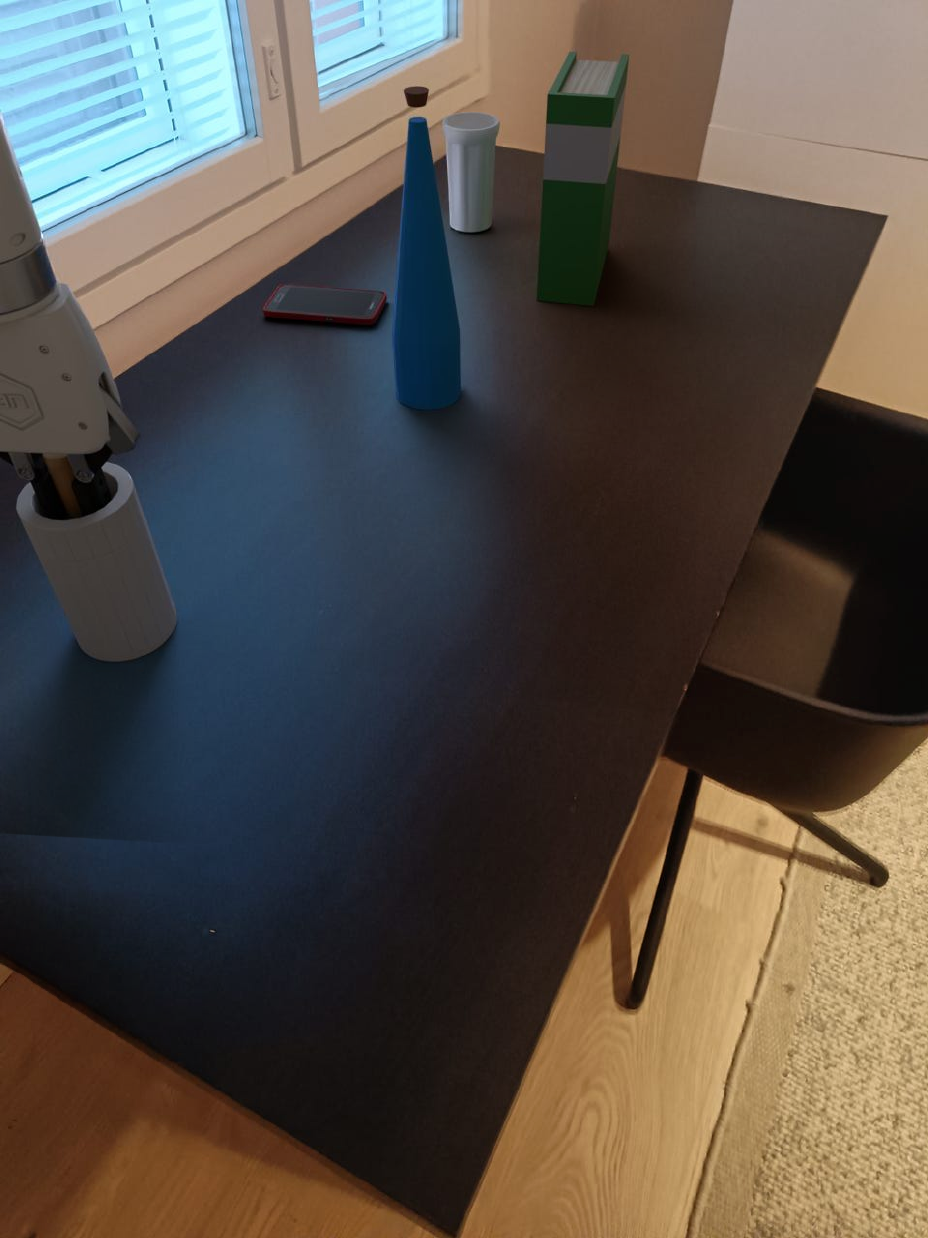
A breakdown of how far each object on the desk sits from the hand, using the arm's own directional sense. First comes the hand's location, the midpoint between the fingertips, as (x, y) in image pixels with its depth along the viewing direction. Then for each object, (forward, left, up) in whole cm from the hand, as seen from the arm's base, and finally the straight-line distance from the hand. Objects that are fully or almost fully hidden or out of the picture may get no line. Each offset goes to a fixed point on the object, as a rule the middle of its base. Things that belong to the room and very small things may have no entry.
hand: (80, 512), depth 67 cm
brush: (0, 0, -11) cm, 11 cm away
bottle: (+22, +38, -12) cm, 46 cm away
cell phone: (+7, +57, -12) cm, 59 cm away
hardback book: (+39, +69, -12) cm, 80 cm away
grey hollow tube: (0, 0, -12) cm, 12 cm away
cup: (+24, +84, -12) cm, 88 cm away
